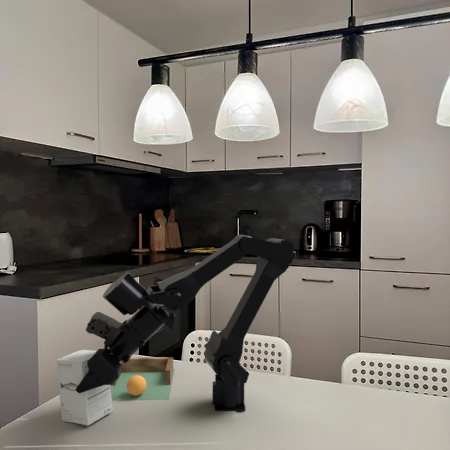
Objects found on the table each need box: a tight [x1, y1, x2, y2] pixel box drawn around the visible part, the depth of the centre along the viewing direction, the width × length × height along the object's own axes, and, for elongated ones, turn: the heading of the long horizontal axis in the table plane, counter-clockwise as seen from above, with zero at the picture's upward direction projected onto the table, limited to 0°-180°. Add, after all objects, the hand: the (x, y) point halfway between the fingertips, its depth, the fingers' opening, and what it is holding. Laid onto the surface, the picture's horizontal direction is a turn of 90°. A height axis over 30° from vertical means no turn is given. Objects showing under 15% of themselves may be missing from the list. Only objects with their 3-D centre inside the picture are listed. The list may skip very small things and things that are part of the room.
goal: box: [110, 356, 174, 386], centre depth 107 cm, size 14×9×4 cm, turn 92°
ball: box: [127, 375, 146, 396], centre depth 97 cm, size 4×4×4 cm
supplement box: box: [56, 349, 113, 427], centre depth 87 cm, size 7×7×13 cm
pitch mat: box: [111, 368, 176, 401], centre depth 103 cm, size 14×18×1 cm
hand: (84, 381), depth 86 cm, fingers open, 9 cm apart
